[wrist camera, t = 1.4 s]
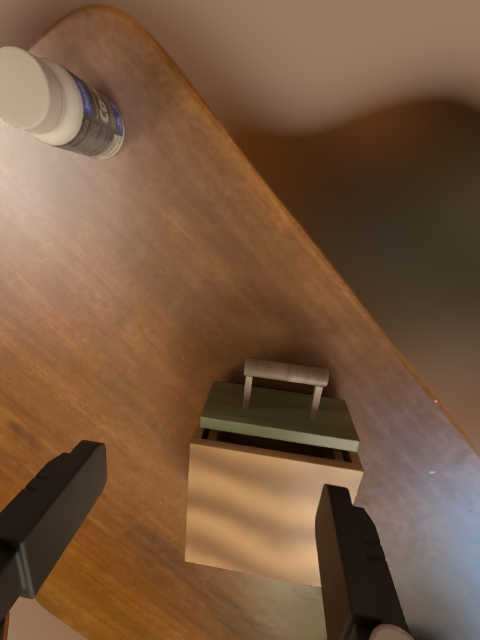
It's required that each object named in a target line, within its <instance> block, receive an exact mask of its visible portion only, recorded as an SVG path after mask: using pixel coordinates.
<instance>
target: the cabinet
mask: <svg viewBox="0 0 480 640" xmlns="http://www.w3.org/2000/svg"><path fill="white" fill-rule="evenodd" d="M208 395H209V394H208ZM207 398H208V396H207ZM206 400H207V399H206ZM205 403H206V402H205ZM204 406H205V404H204ZM203 408H204V407H203ZM202 411H203V410H202ZM201 414H202V412H201ZM200 417H201V415H200ZM209 432H210V429H208V428H201V427H200V418H199V420H198V423H197V426H196V428H195V431H194V434H193V436H192V439H191V442H190V453H189V475H188V498H187V521H186V543H185V561H187V562H192V563H198V564H203V565H208V566H213V567H218V568H223V569H229V570H234V571H239V572H244V573H249V574H254V575H260V576H265V577H270V578H275V579H280V580H285V581H291V582H296V583H301V584H306V585H311V586H316V587H321V580H320V572H319V564H318V555H317V547H316V539H315V517H316V512H317V508H318V504H319V501H320V497H321V493H322V489H323V486H324V484H330V485H336V486H342V487H347V488H348V490H349V493H350V497H351V500H352V504H354V501H355V498H356V495H357V492H358V488H359V485H360V482H361V479H362V476H363V473H364V470H363V467H362V465H361V462H360V459H359V456H358V453H357V452H353V451H347V450H341V451H342V455H343V459H344V461H338V460H332V459H326V458H320V457H313V456H307V455H301V454H295V453H289V452H282V451H276V450H270V449H264V448H258V447H251V446H245V445H239V444H233V443H227V442H220V441H214V440H208V435H209Z"/></svg>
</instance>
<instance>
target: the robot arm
mask: <svg viewBox="0 0 480 640" xmlns="http://www.w3.org/2000/svg"><path fill="white" fill-rule="evenodd" d="M106 479H107V463H106V447H105V444H104V443H99V442H93V441H88V440H82V441H81V442H80V443H79V444H78V445H77V446H76V447H75V448H74V449H73V450H72V451H71V452H70V454H69V453H62V454H61V455H59V456H58V457H56V458H54V459H53V460H51V461H50V462H48V463H47V464H46V465H45V466H44V467H43V468H42V469H41V470H40V472H39V473H38V474H37V475H36V477H35V478H33V479H32V480H31V481H30V482H29V483H28V484H27V485H26V486H25V489H22V491H21V492H20V493H19V494H18V495H17V496H16V497H15V498H14V499H13V500H12V501H11V502H10V503H9V504H8V505H7V506H6V507H5V509H4V510H3V511H2V512H1V513H0V640H7V635H8V625H9V610H10V609H11V607H12V606H13V604H14V603H15V602H16V600H17V599H18V597H19V596H20V597H25V598H29V599H33V598H34V597H35V595H36V594H37V592H38V591H39V589H40V588H41V586H42V584H43V583H44V581H45V580H46V578H47V577H48V575H49V574H50V572H51V570H52V569H53V567H54V566H55V564H56V563H57V561H58V560H59V558H60V557H61V555H62V553H63V552H64V550H65V549H66V547H67V546H68V544H69V543H70V541H71V539H72V538H73V536H74V535H75V533H76V532H77V530H78V529H79V527H80V525H81V524H82V522H83V521H84V519H85V518H86V516H87V515H88V513H89V512H90V510H91V508H92V507H93V505H94V504H95V502H96V501H97V499H98V498H99V496H100V494H101V493H102V491H103V489H104V486H105V483H106ZM315 539H316V547H317V555H318V564H319V572H320V580H321V589H322V597H323V605H324V614H325V622H326V630H327V639H328V640H415V639H414V638H413V637H412V635H411V633H410V631H409V629H408V626H407V624H406V621H405V618H404V615H403V612H402V608H401V605H400V602H399V599H398V596H397V593H396V590H395V587H394V583H393V580H392V577H391V574H390V571H389V568H388V565H387V562H386V561H385V555H384V552H383V549H382V546H381V545H380V540H379V537H378V533H377V530H376V527H375V524H374V523H373V521H372V520H371V518H370V517H369V516H368V514H367V513H366V511H365V510H364V508H360V507H355V506H353V504H352V500H351V497H350V493H349V490H348V488H347V487H342V486H336V485H330V484H324V486H323V489H322V493H321V497H320V501H319V504H318V508H317V512H316V517H315Z"/></svg>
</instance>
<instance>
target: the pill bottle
mask: <svg viewBox="0 0 480 640" xmlns="http://www.w3.org/2000/svg"><path fill="white" fill-rule="evenodd" d="M0 116H1V117H2V118H3V119H4V120H5V121H6V122H7V123H9V124H10V125H12V126H14V127H16V128H19V129H22V130H25V131H27V132H28V133H30V134H31V135H32V136H33V137H34V138H36V139H37V140H39V141H41V142H43V143H45V144H48V145H51V146H55V147H58V148H62V149H65V150H68V151H71V152H75V153H78V154H81V155H84V156H88V157H91V158H95V159H108V158H110V157H112V156H114V155H115V154H116V153H117V152H118V151H119V149H120V148H121V146H122V144H123V141H124V136H125V127H124V121H123V118H122V116H121V113H120V112H119V110H118V108H117V107H116V105H115V104H114V103H113V102H112V101H111V100H110V99H108V98H107V97H106V96H104V95H103V94H102V93H100V92H99V91H97V90H96V89H94V88H93V87H91V86H90V85H88V84H87V83H85V82H84V81H82V80H81V79H79V78H78V77H77V76H75V75H74V74H72V73H71V72H70V71H68V70H67V69H65V68H64V67H62V66H61V65H59V64H57V63H56V62H54V61H51V60H48V59H45V58H38V57H36V56H34V55H33V54H31V53H29V52H28V51H26V50H24V49H21V48H19V47H15V46H5V47H3V48H0Z"/></svg>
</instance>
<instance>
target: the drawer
mask: <svg viewBox="0 0 480 640" xmlns="http://www.w3.org/2000/svg"><path fill="white" fill-rule="evenodd" d="M244 375H246V380H245V385H240V384H233V383H226V382H219V381H214V382H213V384H212V387H211V390H210V392H209V395H208V398H207V400H206V403H205V406H204V408H203V411H202V414H201V417H200V427H201V428H208V429H210V432H209V435H208V440H214V441H220V442H227V443H233V444H239V445H245V446H251V447H258V448H264V449H270V450H276V451H282V452H289V453H295V454H301V455H307V456H313V457H320V458H326V459H332V460H338V461H344V459H343V455H342V451H341V450H347V451H353V452H357V449H358V446H359V442H360V440H359V437H358V435H357V432H356V429H355V426H354V424H353V421H352V418H351V415H350V413H349V410H348V407H347V404H346V402H345V400H343V399H336V398H329V397H322V396H321V393H322V389H323V386H324V387H326V386H327V384H328V380H329V372H328V369H325V368H317V367H310V366H303V365H296V364H288V363H281V362H274V361H267V360H260V359H252V358H246V360H245V366H244ZM253 376H254V377H261V378H268V379H275V380H282V381H289V382H296V383H303V384H310V385H315V386H314V391H313V395H308V394H302V393H295V392H288V391H281V390H274V389H267V388H260V387H254V386H252V380H253Z"/></svg>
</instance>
